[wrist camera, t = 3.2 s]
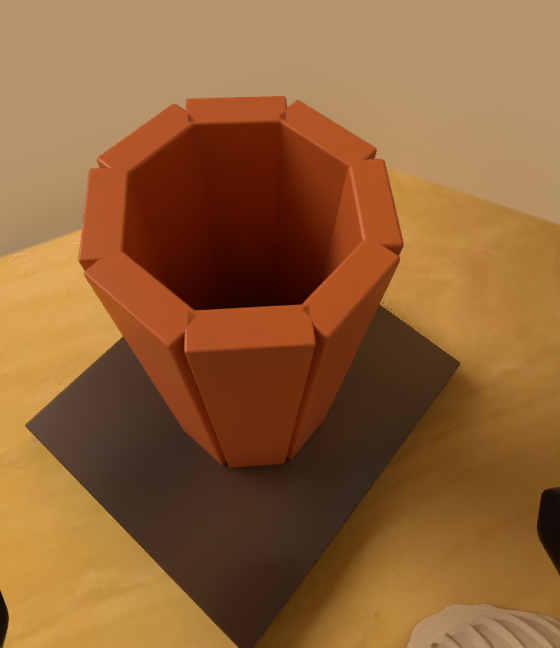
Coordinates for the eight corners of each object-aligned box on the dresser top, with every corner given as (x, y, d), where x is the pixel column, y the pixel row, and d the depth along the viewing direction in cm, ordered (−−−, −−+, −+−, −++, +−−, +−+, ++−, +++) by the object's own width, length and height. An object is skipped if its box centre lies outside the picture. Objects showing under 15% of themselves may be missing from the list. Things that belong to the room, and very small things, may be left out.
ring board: (449, 374, 22) (503, 323, 17) (248, 649, 17) (243, 687, 12) (256, 233, 25) (255, 156, 20) (39, 433, 20) (-32, 395, 15)
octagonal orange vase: (352, 385, 20) (456, 196, 9) (259, 499, 18) (255, 423, 7) (247, 303, 22) (233, 58, 11) (150, 399, 20) (14, 214, 9)
